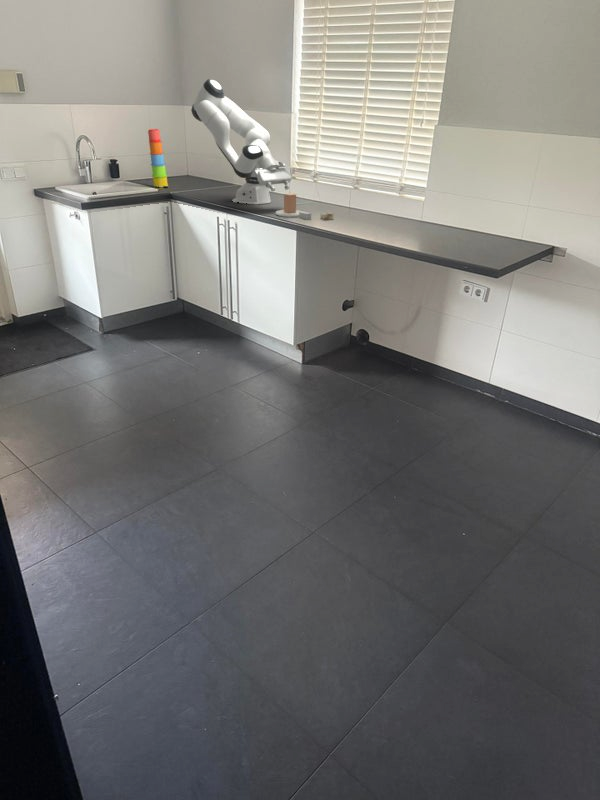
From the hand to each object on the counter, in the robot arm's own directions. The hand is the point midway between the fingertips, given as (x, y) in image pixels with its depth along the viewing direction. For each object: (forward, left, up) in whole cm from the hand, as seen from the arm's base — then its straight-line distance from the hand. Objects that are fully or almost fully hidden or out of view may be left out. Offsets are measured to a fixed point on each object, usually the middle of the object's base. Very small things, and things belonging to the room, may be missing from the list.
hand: (280, 189), depth 299 cm
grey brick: (+17, -13, -11) cm, 24 cm away
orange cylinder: (+7, -6, -10) cm, 14 cm away
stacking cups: (-97, +55, -11) cm, 112 cm away
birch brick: (+28, -11, -11) cm, 32 cm away
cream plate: (+7, -6, -11) cm, 15 cm away
